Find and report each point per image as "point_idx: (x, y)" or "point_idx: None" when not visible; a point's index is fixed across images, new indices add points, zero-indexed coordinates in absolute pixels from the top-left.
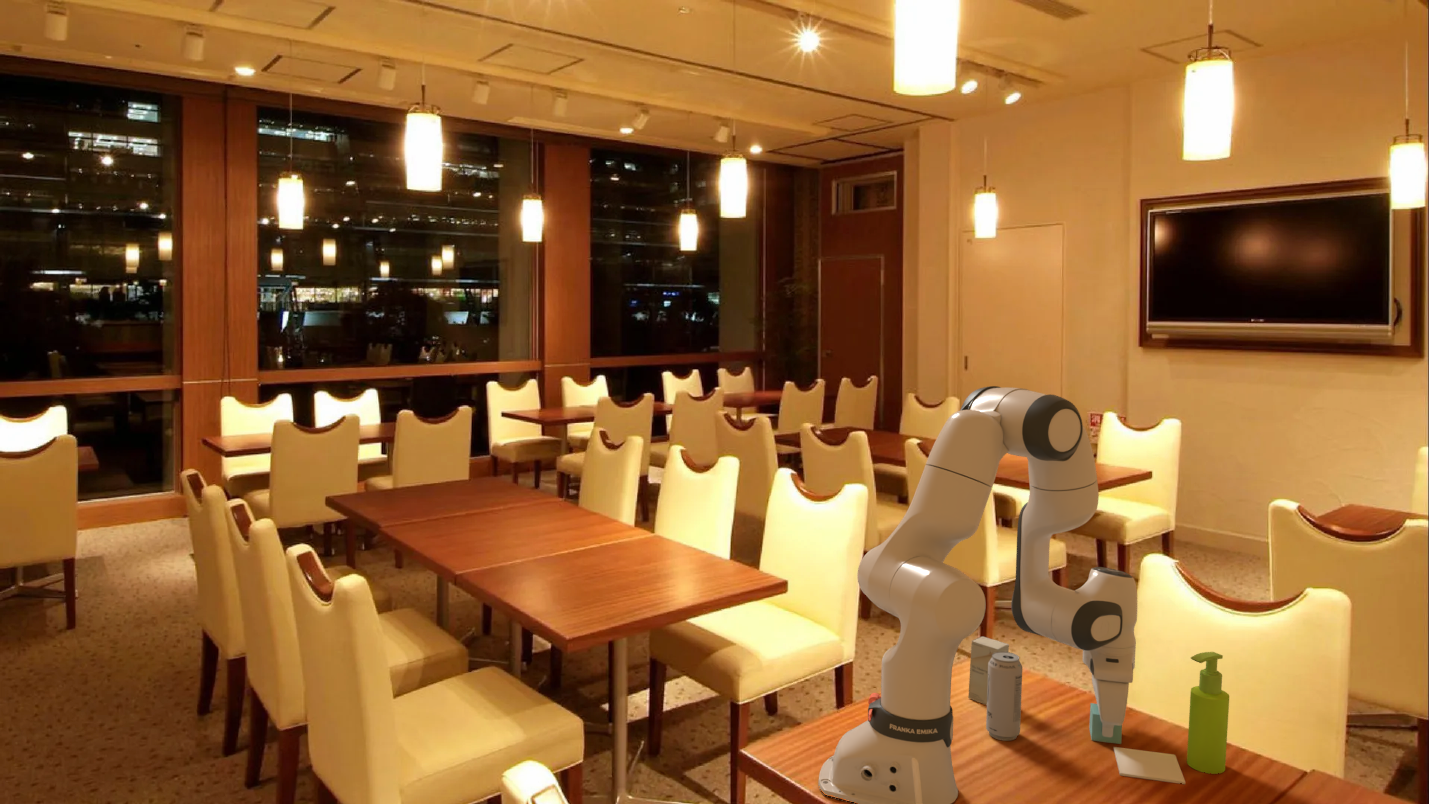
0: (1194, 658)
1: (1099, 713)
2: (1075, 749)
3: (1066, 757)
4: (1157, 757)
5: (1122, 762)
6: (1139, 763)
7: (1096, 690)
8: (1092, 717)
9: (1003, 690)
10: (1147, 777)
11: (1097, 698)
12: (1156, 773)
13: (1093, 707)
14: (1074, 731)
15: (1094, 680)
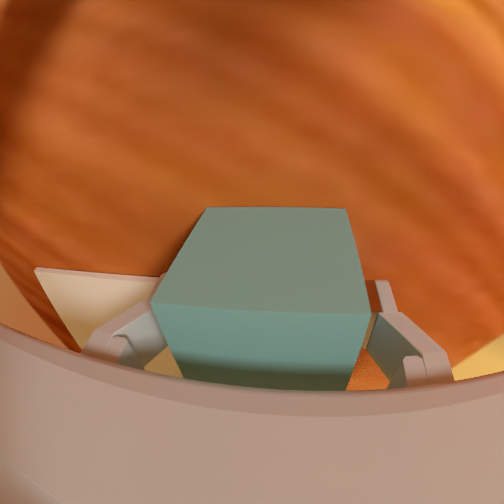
0: None
1: (13, 346)
2: (90, 144)
3: (31, 126)
4: (166, 363)
5: (79, 287)
6: (104, 322)
7: (222, 483)
8: (167, 282)
9: None
10: (61, 317)
11: (112, 426)
12: (86, 338)
13: (283, 323)
14: (286, 130)
15: (462, 479)
